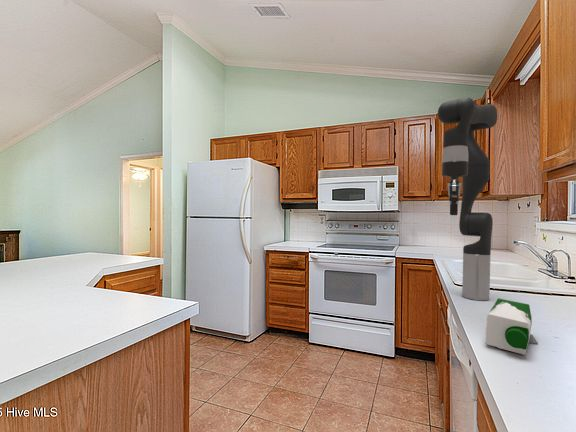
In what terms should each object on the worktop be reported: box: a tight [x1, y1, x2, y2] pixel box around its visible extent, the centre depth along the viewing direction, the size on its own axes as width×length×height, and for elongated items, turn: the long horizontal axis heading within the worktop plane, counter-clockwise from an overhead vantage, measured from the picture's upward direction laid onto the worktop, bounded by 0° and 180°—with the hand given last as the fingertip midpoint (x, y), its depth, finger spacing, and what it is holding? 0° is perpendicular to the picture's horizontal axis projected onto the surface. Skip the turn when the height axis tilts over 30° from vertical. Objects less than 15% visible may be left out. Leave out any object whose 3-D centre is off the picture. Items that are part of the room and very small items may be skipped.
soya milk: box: [485, 297, 533, 356], centre depth 81 cm, size 9×9×20 cm
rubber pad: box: [528, 333, 539, 345], centre depth 84 cm, size 6×6×1 cm
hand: (453, 215), depth 103 cm, fingers closed
